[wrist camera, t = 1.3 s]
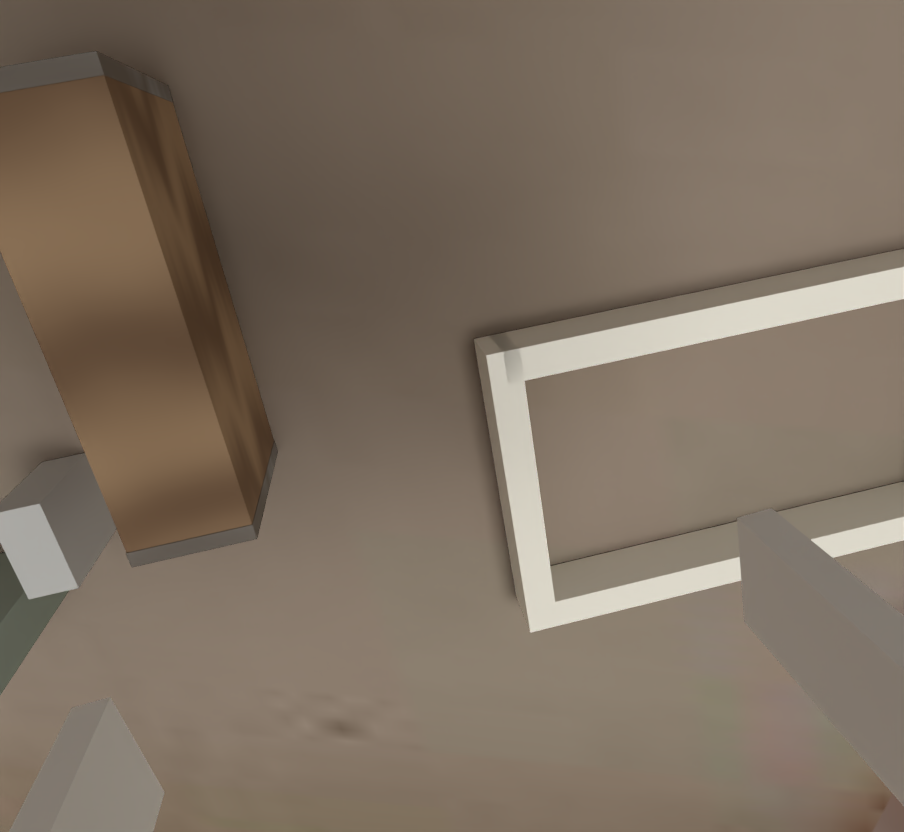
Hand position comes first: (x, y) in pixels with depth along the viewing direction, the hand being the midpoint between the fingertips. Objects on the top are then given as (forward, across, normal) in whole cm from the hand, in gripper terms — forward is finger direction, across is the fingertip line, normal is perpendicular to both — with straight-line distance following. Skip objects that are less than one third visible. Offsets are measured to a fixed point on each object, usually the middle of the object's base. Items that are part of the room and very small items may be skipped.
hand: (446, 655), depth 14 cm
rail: (+19, -8, +6) cm, 21 cm away
